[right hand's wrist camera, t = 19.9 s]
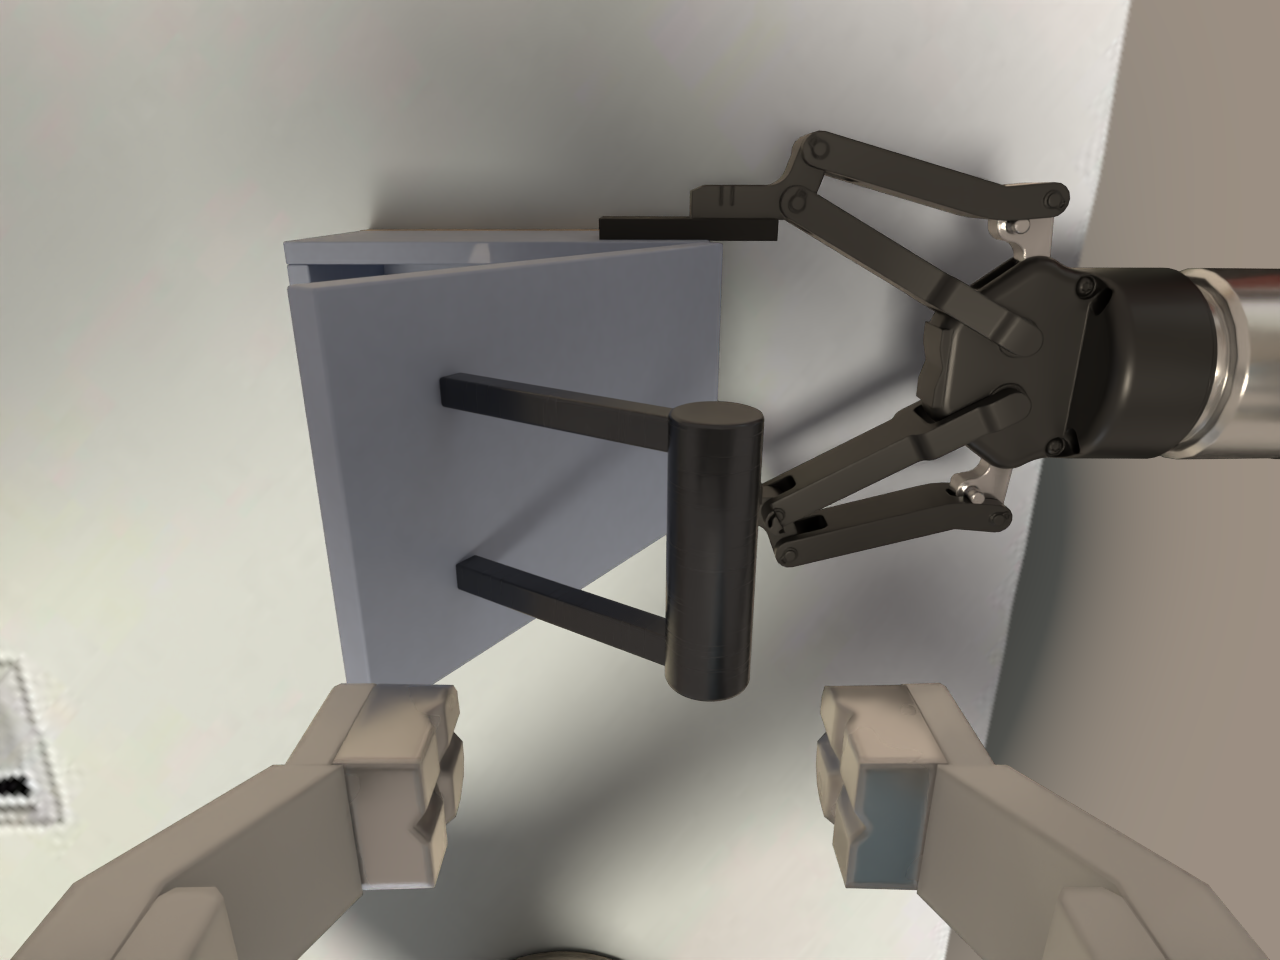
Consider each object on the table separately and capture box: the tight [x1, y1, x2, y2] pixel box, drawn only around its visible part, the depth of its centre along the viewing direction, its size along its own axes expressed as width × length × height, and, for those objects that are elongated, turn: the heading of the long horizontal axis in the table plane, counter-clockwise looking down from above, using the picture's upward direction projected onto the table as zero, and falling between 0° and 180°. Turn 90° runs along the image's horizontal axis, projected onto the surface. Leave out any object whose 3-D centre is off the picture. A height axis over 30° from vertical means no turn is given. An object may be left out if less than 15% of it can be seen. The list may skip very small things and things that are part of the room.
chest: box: [283, 229, 711, 285], centre depth 34 cm, size 15×10×9 cm, turn 90°
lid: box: [287, 242, 764, 701], centre depth 21 cm, size 16×10×9 cm
